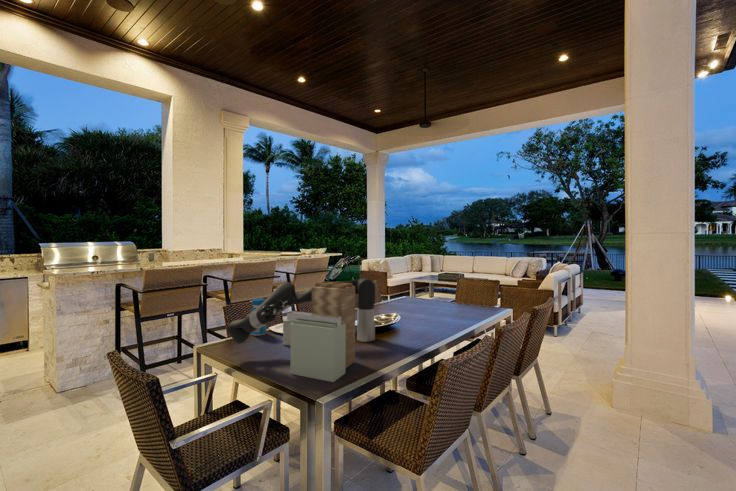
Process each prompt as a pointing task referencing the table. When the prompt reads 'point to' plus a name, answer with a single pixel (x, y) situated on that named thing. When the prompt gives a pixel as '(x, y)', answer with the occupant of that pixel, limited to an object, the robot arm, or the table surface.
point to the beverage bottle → (255, 304)
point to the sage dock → (317, 350)
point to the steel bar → (314, 317)
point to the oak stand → (338, 309)
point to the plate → (277, 328)
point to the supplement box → (286, 332)
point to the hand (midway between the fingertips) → (288, 301)
